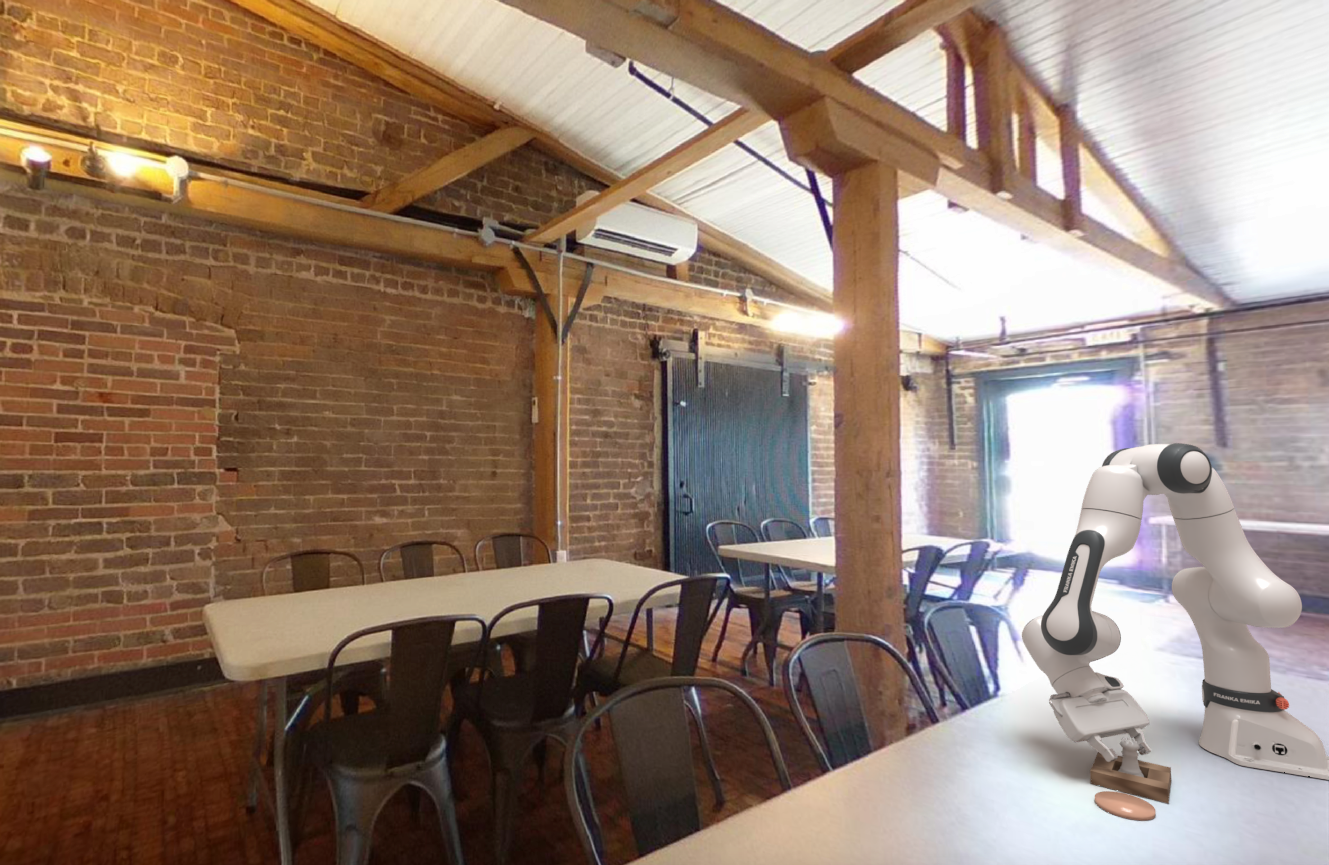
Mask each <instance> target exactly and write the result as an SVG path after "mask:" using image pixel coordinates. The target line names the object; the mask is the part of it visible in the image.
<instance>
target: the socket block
mask: <svg viewBox="0 0 1329 865" xmlns="http://www.w3.org/2000/svg"><path fill="white" fill-rule="evenodd" d="M1117 756H1118V759H1116V760H1114V761H1111V762H1107V761H1106V760H1105V758H1104V757H1103V755H1102V754H1101V753H1099V752H1098V751H1097V753H1096V755H1095V757H1094V761H1093V763H1092V765H1091V767H1090V770H1089V771H1090V772H1089V777H1090V778H1089V779H1090V784H1091V785H1094V786H1097V785H1100V786H1099V787H1101V786H1103V787H1102V788H1105V789H1109V788H1110V790H1112V791H1113V790H1114V791H1116V790H1118V791H1117V792H1120V793H1125V794H1129V795H1132V796H1135V797H1139V798H1140V797H1141V798H1144V799H1148V800H1154V801H1157V802H1161V803H1164V804H1169V802H1170V793H1171V787H1172V786H1171V785H1172V767H1171V766H1167V765H1161V764H1158V763H1152V762H1148V761H1143V760H1139V759H1138V764H1139V768H1140V770H1141V773H1142V774H1143V775H1144V777H1140V776H1136V775H1132V774H1127V773H1123V772H1119V771H1118V770H1119V769H1120V766H1121V765H1122V759H1123V755H1122V756H1121V755H1117Z"/></svg>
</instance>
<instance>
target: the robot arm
mask: <svg viewBox="0 0 1329 865" xmlns="http://www.w3.org/2000/svg"><path fill="white" fill-rule="evenodd" d="M1212 466H1213V465H1212V462H1211V460H1210V458H1209V456H1208V455H1207V454H1206V453H1205V452H1204V451H1203V450H1202V449H1201V448H1200V447H1198V446H1196V445H1193V444H1189V443H1181V442H1176V443H1156V444H1155V443H1151V444H1146V445H1141V446H1135V447H1131V448H1130V447H1126V448H1121V449H1118V450H1115V451H1113V452H1111V453H1110V454H1108V455H1107V457H1106V458H1105V459H1104V461H1103V462H1102V464H1101V467H1098V468H1096V469H1095V470H1094V472H1093V473H1092V475H1091V477H1090V480H1089V481H1088V484H1087V487H1086V490H1085V491H1084V492H1085V493H1084V496H1083V500H1082V504H1081V509H1080V513H1079V514H1080V515H1079V517H1078V524H1077V527H1076V530H1075V535H1074V537H1073V539H1072V541H1071V544H1070V546H1069V550H1068V551H1067V555H1066V558H1065V562H1064V566H1063V568H1062V573H1061V576H1060V579H1059V583H1058V586H1057V589H1056V593H1055V596H1054V598H1053V599H1052V601H1051V603H1050V604H1049V606H1048V607H1047V609H1046V610H1045V611H1044V613H1043V615H1039V616H1036V617H1035V618H1033V619H1031V620H1029V622H1027V624H1025V626H1024V627H1023V630H1022V632H1021V639H1022V643H1023V644H1024V646H1025V648H1026V650H1027V652H1028V653H1029V655H1030V657H1031V659H1032V660H1033V662H1034V663H1035V664H1036V666H1037V667H1038V669H1039V670H1040V671H1042V672H1043V673H1044V674H1045V675H1046V677H1047V678H1048V680H1049V683H1050V685H1051V687H1052V689H1053V690H1054V691H1055V693H1054V694H1050V697H1049V699H1048V701H1049V702H1048V703H1049V706H1050V707H1051V709H1052V710H1053V714H1054V716H1055V718H1056V720H1057V721H1058V722H1057V723H1058V724H1059V725H1060V728H1061V729H1062V731H1063V732H1064V734H1065V736H1066V737H1067V738H1068V739H1069V740H1070V741H1072V742H1073V743H1080V742H1081V743H1082V742H1087V743H1088V745H1089V746H1090V747H1091V748H1092V749H1094V750H1095V751H1096V752H1097V753H1098V752H1099V753H1101V754H1102V755H1103V757H1104V758H1105V760H1106V761H1107V762H1111V761H1114V760H1116V759H1118V756H1119V755H1118V754H1117V753H1116V752H1115V750H1114V748H1109V747H1108V746H1107V745H1106V744H1104V743H1103V742H1102V740H1103V739H1105V738H1108V737H1114V736H1119V735H1124V734H1128V735H1129V736H1128V737H1129V738H1130V739H1134V740H1135V741H1137V744H1138V745H1139V747H1140V748H1139V749H1138V750H1137V753H1138V754H1139V755H1141V756H1144V755H1148V754H1150V753H1151V752H1152V749H1151V747H1150V746H1149V745H1148V743H1147V742H1146V738H1145V734H1144V731H1143V729H1145V728H1147V727H1148V726H1149V725H1150V719H1149V716H1148V715H1147V714H1146V712H1145V710H1144V709H1143V708H1142V707H1141V705H1140V704H1139V703H1138V702H1137V700H1136V699H1135V697H1133V695H1131V694H1130V693H1129V692H1128V691H1127V690H1125V689H1123V688H1124V684H1123V682H1122V681H1121V680H1120V679H1119V678H1117V677H1113V676H1109V675H1105V674H1103V673H1100V672H1097V671H1094V670H1093V668H1092V667H1091V665H1090V663H1091V662H1095V661H1098V660H1101V659H1103V658H1106V657H1108V656H1110V655H1112V654H1115V652H1116V651H1117V650H1118V649H1119V647H1120V645H1121V642H1122V641H1121V640H1122V637H1121V636H1122V635H1121V631H1120V629H1119V626H1118V624H1117V623H1116V622H1115V621H1114V619H1112V618H1110V617H1109V616H1108V615H1106V614H1103V613H1099V612H1096V611H1094V610H1092V604H1093V599H1094V597H1095V593H1096V588H1097V584H1098V580H1099V577H1100V573H1101V571H1102V569H1103V568H1104V566H1105V565H1106V564H1107V563H1108V562H1110V561H1111V560H1114V559H1115V558H1118V557H1121V556H1123V555H1125V554H1127V553H1129V552H1130V551H1132V550H1133V548H1134V547H1135V545H1136V542H1137V540H1138V537H1139V536H1140V535H1139V534H1140V531H1141V526H1142V520H1143V512H1144V501H1145V498H1146V497H1147V496H1148V495H1149V496H1151V495H1152V496H1157V495H1164V496H1165V497H1166V498H1167V501H1168V505H1169V509H1170V512H1171V515H1172V519H1173V522H1174V524H1175V527H1176V531H1177V532H1178V536H1179V539H1180V542H1181V546H1182V547H1183V549H1184V550H1185V552H1186V553H1188V555H1190V556H1191V557H1193V558H1194V559H1196V560H1197V561H1198V562H1199V563H1200V564H1201V565H1202V566H1198V567H1197V566H1195V567H1194V566H1193V567H1187V568H1183V569H1181V570H1179V571H1178V572H1177V573H1176V574H1175V576H1173V578H1172V582H1171V591H1172V594H1173V595H1172V596H1173V598H1174V599H1175V600H1176V602H1177V603H1178V604H1179V605H1180V606H1182V607H1183V609H1184V610H1185V611H1186V613H1187V614H1188V616H1189V617H1190V620H1191V622H1192V623H1193V626H1194V628H1195V630H1196V632H1197V635H1198V638H1199V642H1200V646H1201V652H1202V653H1201V654H1202V662H1203V676H1204V678H1203V680H1202V682H1201V683H1202V684H1201V697H1202V699H1201V700H1202V703H1203V706H1204V714H1203V715H1204V716H1203V721H1202V722H1203V724H1202V729H1201V733H1200V737H1199V740H1198V745H1199V746H1200V747H1202V748H1203V749H1205V750H1206V751H1207V752H1210V753H1212V754H1215V755H1216V756H1219V757H1222V758H1225V759H1227V760H1229V761H1230V762H1232V763H1234V764H1236V765H1239V766H1243V767H1248V768H1253V769H1254V768H1255V769H1260V770H1266V771H1273V772H1279V773H1284V772H1285V774H1290V775H1296V776H1304V777H1308V776H1310V778H1314V779H1322V780H1326V781H1329V756H1328V755H1327V753H1326V749H1325V746H1324V744H1323V742H1322V740H1321V738H1320V737H1319V735H1318V734H1317V733H1316V732H1315V731H1314V730H1312V729H1311V728H1310V727H1308V726H1307V725H1306V724H1304V723H1303V722H1302V721H1300V720H1299V719H1298V718H1297V717H1295V716H1294V715H1293V714H1291V713H1289V712H1288V711H1286V710H1288V708H1290V703H1289V701H1288V699H1286V697H1285V696H1283V695H1282V694H1281V693H1280V691H1278V692H1277V691H1275V690H1274V689H1272V680H1271V679H1272V678H1271V665H1270V664H1271V663H1270V656H1269V653H1268V651H1267V650H1266V649H1265V647H1263V645H1261V643H1259V642H1258V641H1257V640H1256V639H1255V637H1254V636H1253V635H1252V633H1251V631H1250V630H1249V627H1248V626H1251V627H1254V628H1255V627H1256V628H1264V629H1265V628H1267V629H1269V628H1270V629H1278V628H1279V629H1282V628H1283V629H1284V628H1288V627H1291V626H1293V625H1294V624H1295V623H1296V622H1297V621H1298V619H1299V618H1300V616H1301V614H1302V610H1303V604H1302V600H1301V599H1302V598H1301V597H1300V594H1299V593H1298V591H1297V590H1296V589H1295V588H1294V587H1293V586H1292V585H1291V584H1289V583H1287V582H1286V581H1284V580H1282V579H1281V578H1280V577H1279V576H1278V575H1276V574H1275V573H1274V572H1273V571H1272V570H1271V569H1270V567H1268V566H1267V565H1266V563H1265V562H1263V560H1262V559H1261V558H1260V557H1259V555H1258V554H1257V553H1256V552H1255V549H1253V548H1252V545H1251V543H1250V542H1249V541H1248V539H1247V537H1246V534H1245V532H1244V529H1243V527H1242V525H1241V521H1240V518H1239V516H1238V513H1237V511H1236V508H1235V506H1234V502H1233V500H1232V498H1231V495H1230V493H1229V491H1228V489H1227V487H1226V485H1225V484H1224V481H1223V480H1222V478H1221V477H1220V475H1219V474H1218V472H1217V471H1216V470H1215V468H1214V467H1212Z"/></svg>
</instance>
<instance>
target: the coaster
mask: <svg viewBox="0 0 1329 865" xmlns="http://www.w3.org/2000/svg"><path fill="white" fill-rule="evenodd" d="M1094 803H1095V805H1096V804H1097V805H1096V806H1097V807H1098V806H1099V807H1098V808H1099V809H1101V808H1102V809H1101V810H1103V811H1104V810H1105V812H1106V813H1108V812H1109V813H1108V814H1111V815H1112V816H1116V817H1120V818H1123V819H1127V820H1131V821H1141V822H1143V821H1151V820H1154V819H1155V818H1156V816H1157V813H1156V812H1157V811H1156V807H1154V806H1153V805H1152V803H1150V802H1149V801H1146V800H1145V799H1143V798H1140V797H1139V796H1136V795H1132V794H1128V793H1124V792H1120V791H1113V790H1110V791H1109V790H1108V791H1107V790H1106V791H1103V790H1102V791H1098V792H1097V793H1095V794H1094Z"/></svg>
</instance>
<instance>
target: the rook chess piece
mask: <svg viewBox="0 0 1329 865" xmlns="http://www.w3.org/2000/svg"><path fill="white" fill-rule="evenodd" d="M1119 745H1120V746H1121V748H1122V750H1121V754H1122V757H1123V759H1122V765H1121V766H1120V769H1119V770H1118V771H1119V772H1123V773H1127V774H1132V775H1136V776H1140V777H1144V775H1143V774H1142V773H1141V770H1140V768H1139V764H1138V760H1139V758H1138V757H1139V755H1140V754H1139V752H1138V751H1137V750H1138V749H1139V748H1140V747H1139V745H1138V744H1137V741H1135V740H1134V738H1131V737H1126V738H1125V737H1122V738H1121V741H1119Z"/></svg>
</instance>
